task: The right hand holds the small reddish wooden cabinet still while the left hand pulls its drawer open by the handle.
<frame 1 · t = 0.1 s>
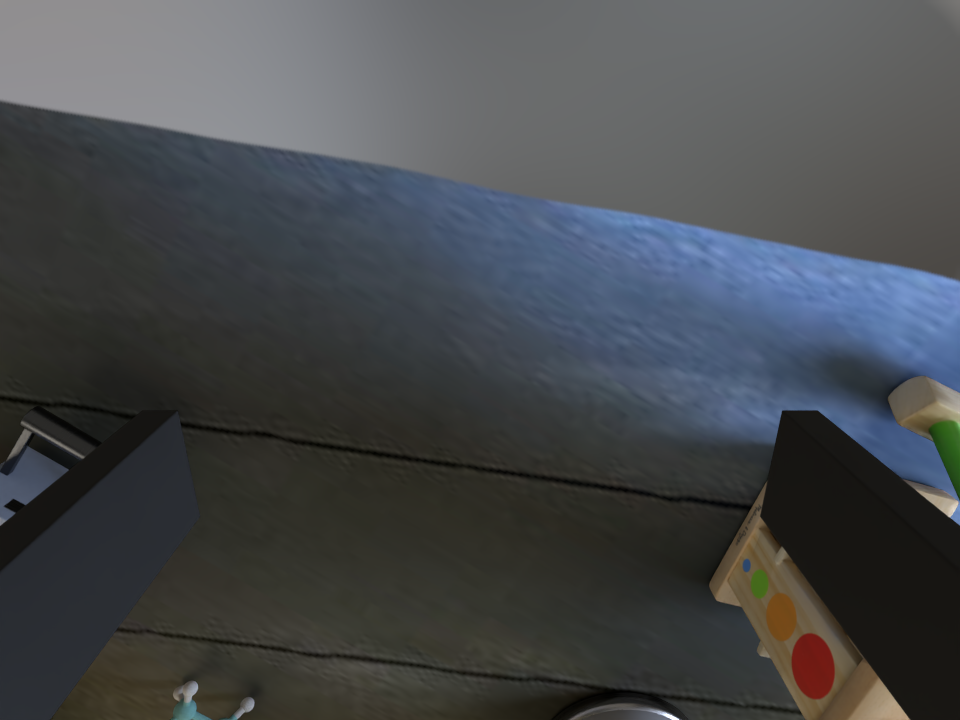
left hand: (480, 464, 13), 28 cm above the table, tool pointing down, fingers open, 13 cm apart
molecular model: (231, 702, 54), on the table
pounding bench toy: (845, 498, 46), on the table
drawer: (33, 542, 43), point 4 cm above the table, slide at 1.6 cm
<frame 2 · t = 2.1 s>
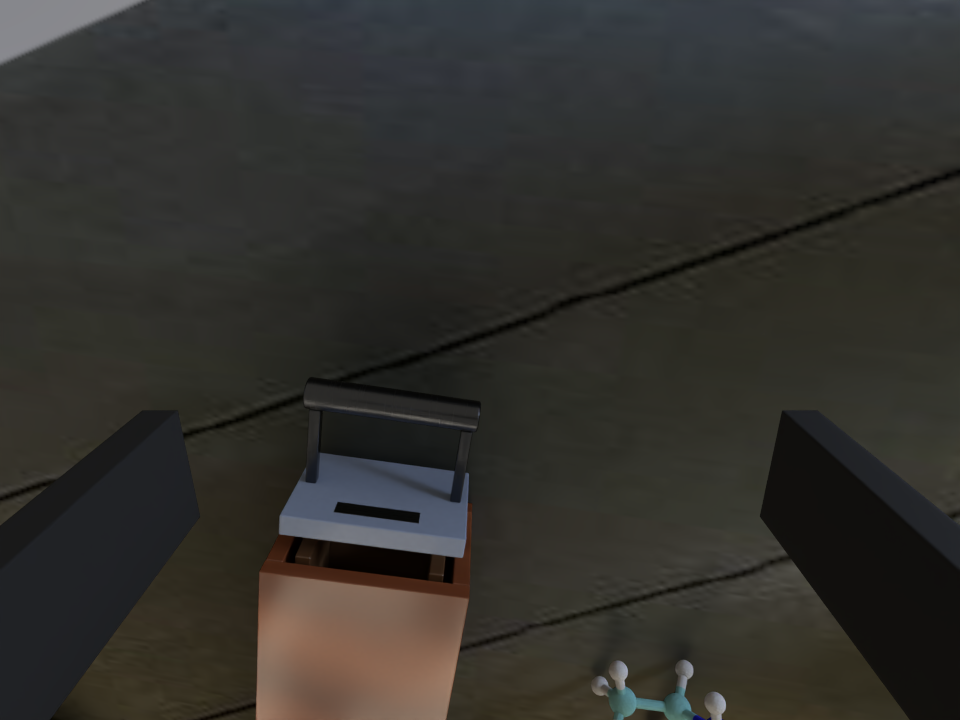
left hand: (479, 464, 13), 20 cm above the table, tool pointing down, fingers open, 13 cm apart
molecular model: (659, 677, 42), on the table
cabinet: (378, 590, 39), on the table
drawer: (376, 555, 33), point 4 cm above the table, slide at 1.6 cm
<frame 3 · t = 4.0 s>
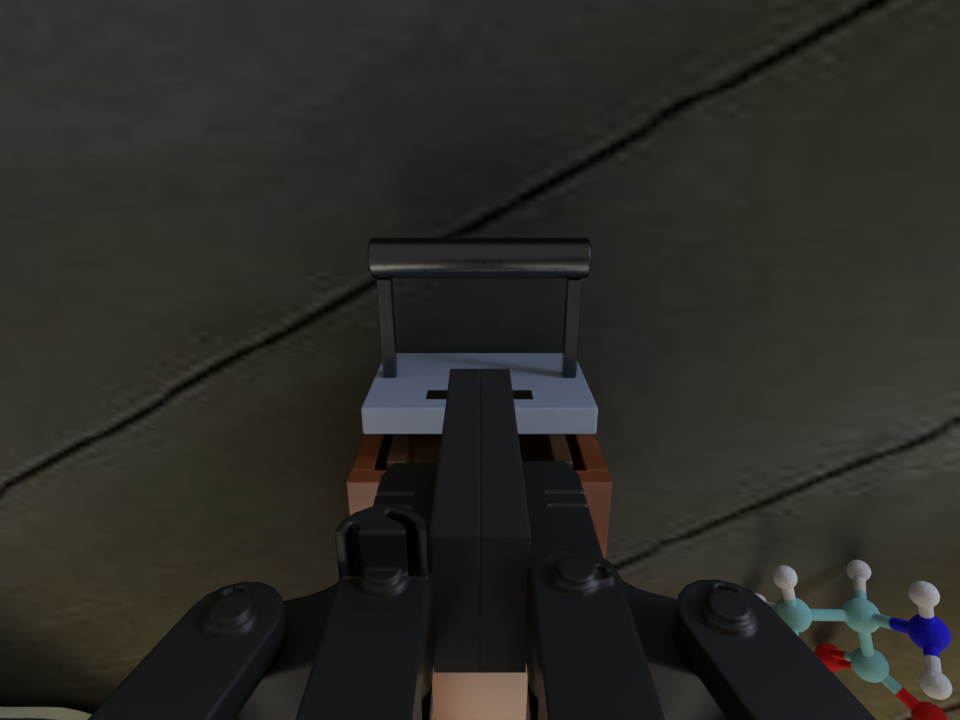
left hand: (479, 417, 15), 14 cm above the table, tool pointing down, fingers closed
molecular model: (826, 586, 35), on the table
cabinet: (479, 522, 33), on the table, touching right hand
drawer: (479, 462, 27), point 4 cm above the table, slide at 1.6 cm
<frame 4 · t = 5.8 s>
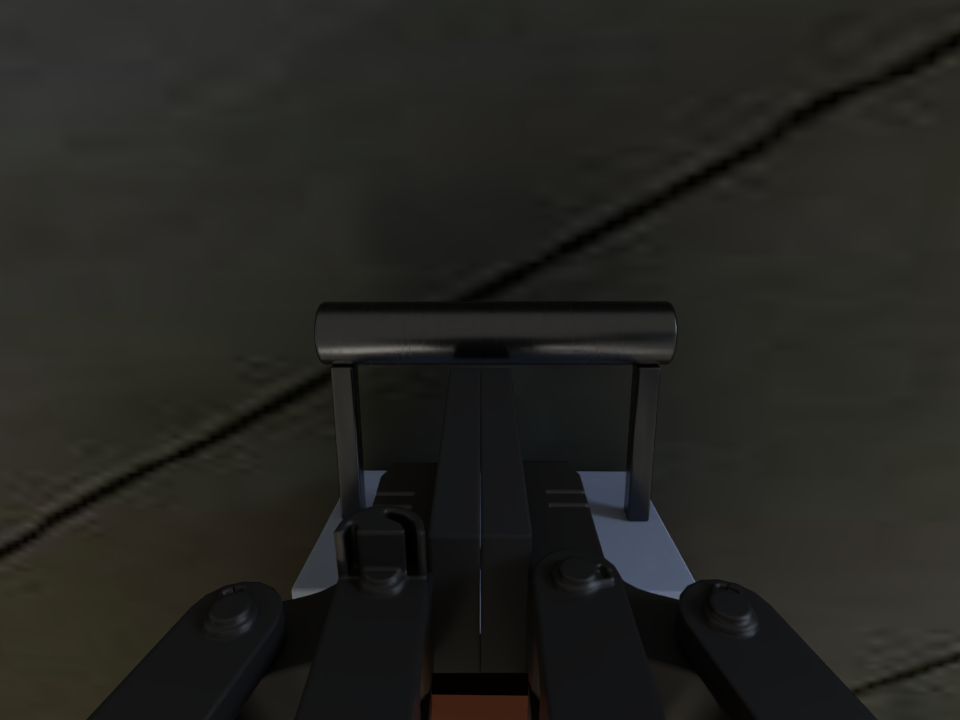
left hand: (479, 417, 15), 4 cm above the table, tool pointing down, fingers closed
cabinet: (493, 710, 23), point 1 cm above the table, tilted 6°, touching right hand
drawer: (494, 650, 17), point 4 cm above the table, slide at 1.6 cm, touching left hand
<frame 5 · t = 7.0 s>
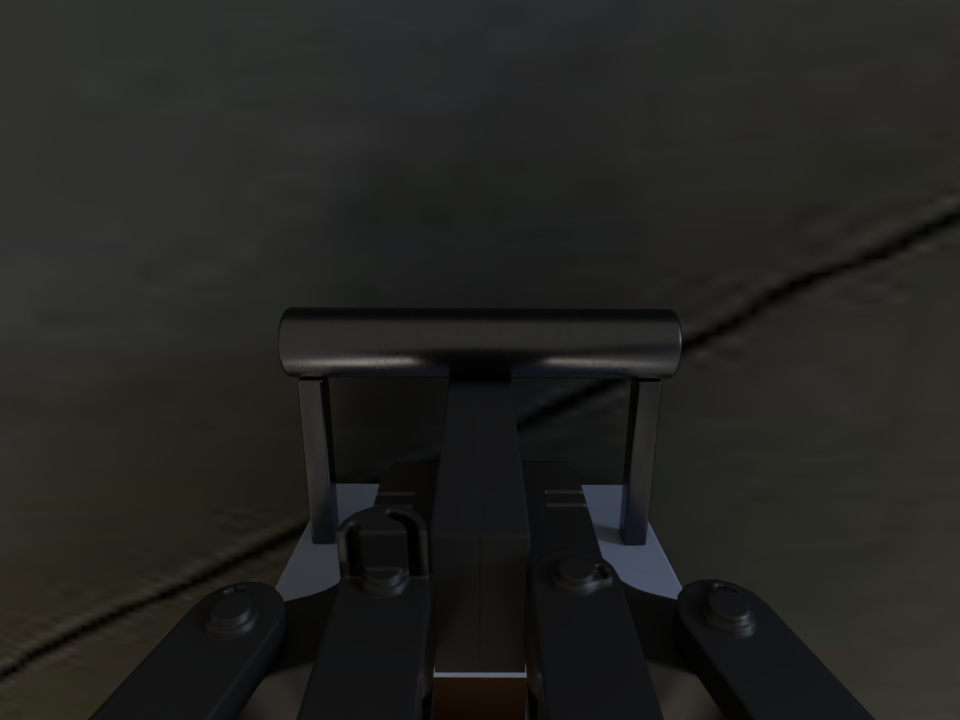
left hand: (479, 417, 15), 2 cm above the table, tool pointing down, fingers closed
drawer: (478, 678, 16), point 4 cm above the table, slide at 6.6 cm, touching left hand
when the right hand's fingers open (3 cm above the table, at t = 8.6 s): cabinet stays where it is, on the table.
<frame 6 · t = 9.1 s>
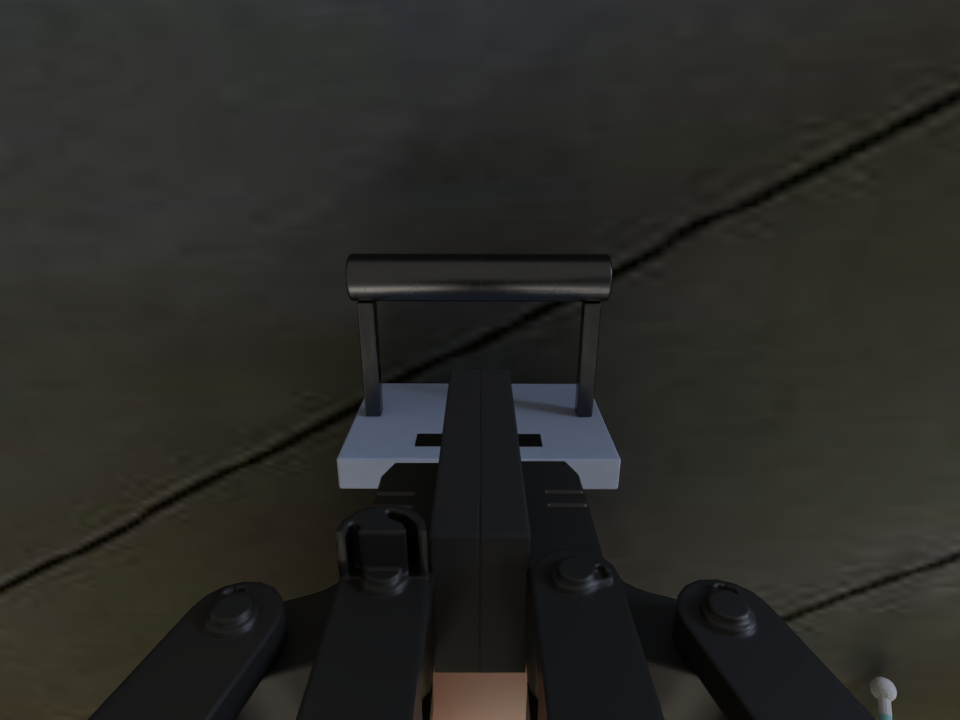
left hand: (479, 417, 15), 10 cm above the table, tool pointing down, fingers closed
molecular model: (847, 700, 33), on the table
cabinet: (478, 642, 31), on the table
drawer: (478, 512, 23), point 4 cm above the table, slide at 6.6 cm
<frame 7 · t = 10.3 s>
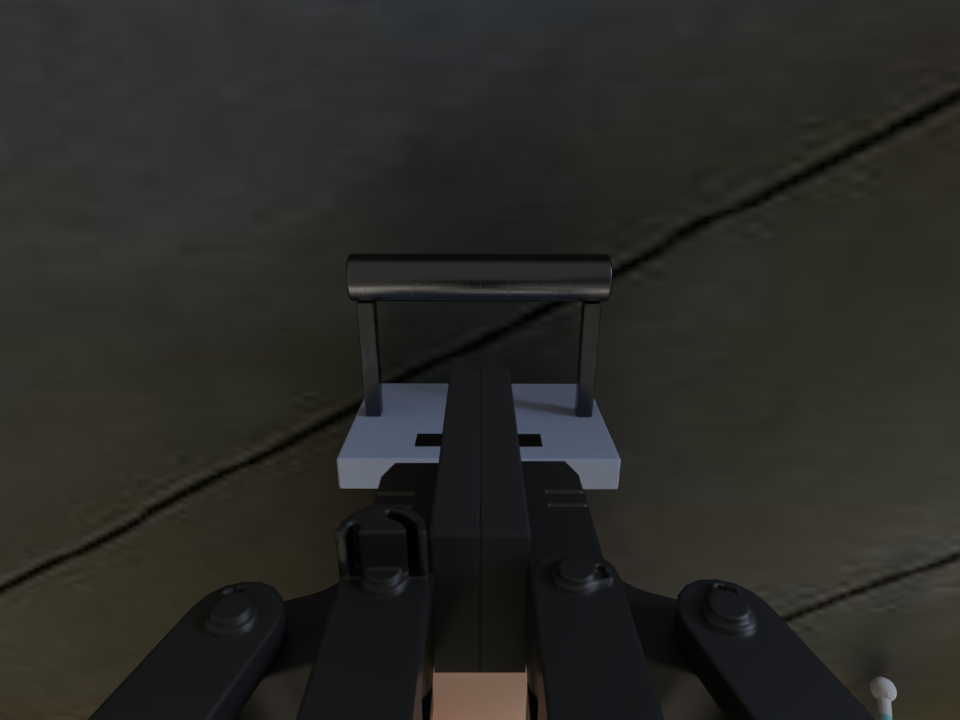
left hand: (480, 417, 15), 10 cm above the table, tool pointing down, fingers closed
molecular model: (847, 700, 33), on the table
cabinet: (478, 642, 31), on the table
drawer: (478, 512, 23), point 4 cm above the table, slide at 6.6 cm
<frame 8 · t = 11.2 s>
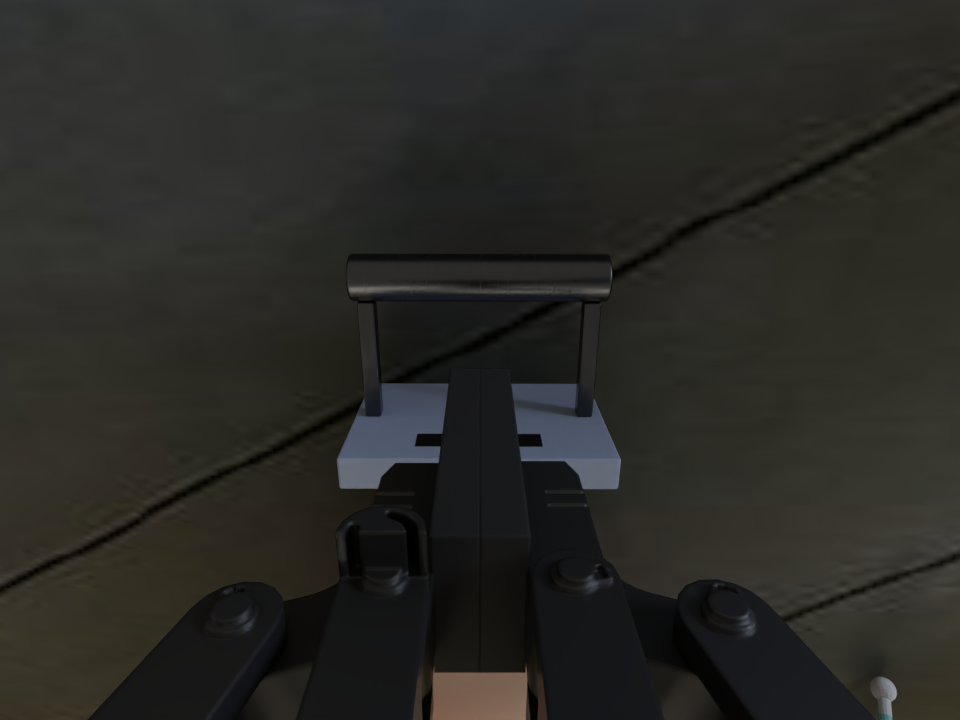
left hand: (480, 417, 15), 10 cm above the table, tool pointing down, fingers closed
molecular model: (847, 700, 33), on the table
cabinet: (478, 642, 31), on the table
drawer: (478, 512, 23), point 4 cm above the table, slide at 6.6 cm
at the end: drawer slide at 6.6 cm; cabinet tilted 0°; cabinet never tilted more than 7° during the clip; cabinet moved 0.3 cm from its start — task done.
